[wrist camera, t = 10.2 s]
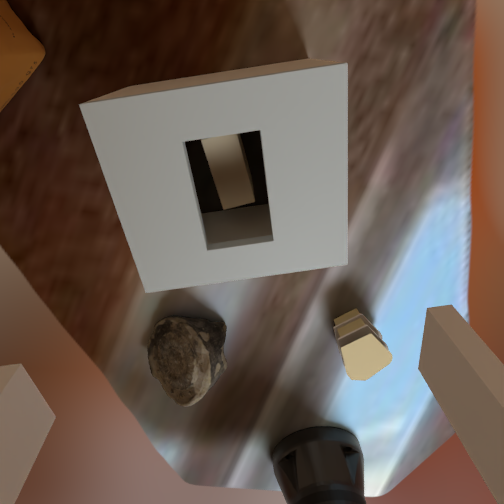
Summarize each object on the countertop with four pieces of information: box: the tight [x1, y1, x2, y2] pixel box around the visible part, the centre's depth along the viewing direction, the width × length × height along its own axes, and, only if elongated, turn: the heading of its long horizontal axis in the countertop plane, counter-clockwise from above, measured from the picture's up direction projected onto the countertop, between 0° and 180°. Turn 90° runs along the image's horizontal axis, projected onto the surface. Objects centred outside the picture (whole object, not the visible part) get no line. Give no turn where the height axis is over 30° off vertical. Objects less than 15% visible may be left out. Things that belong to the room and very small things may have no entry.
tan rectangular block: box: [201, 133, 255, 210], centre depth 32 cm, size 6×3×7 cm, turn 15°
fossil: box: [148, 316, 227, 407], centre depth 44 cm, size 11×9×10 cm
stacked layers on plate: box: [333, 308, 392, 380], centre depth 45 cm, size 10×9×6 cm
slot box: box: [79, 58, 348, 293], centre depth 29 cm, size 14×16×12 cm
